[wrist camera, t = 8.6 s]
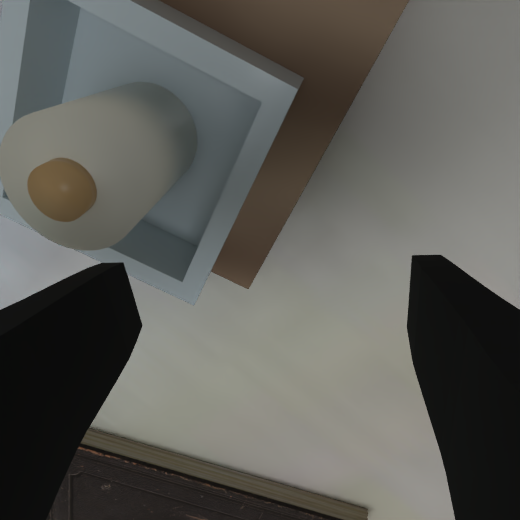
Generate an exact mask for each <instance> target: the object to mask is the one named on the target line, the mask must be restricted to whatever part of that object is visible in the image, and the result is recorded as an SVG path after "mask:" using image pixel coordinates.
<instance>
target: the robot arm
mask: <svg viewBox="0 0 520 520" xmlns="http://www.w3.org/2000/svg"><path fill="white" fill-rule="evenodd" d="M141 328H142V323H141V319H140V316H139V312H138V309H137V306H136V302H135V299H134V296H133V292H132V289H131V286H130V282H129V279H128V275H127V272H126V269H125V265H124V262H117V263H101V264H98V265H95V266H92V267H89V268H87V269H85V270H82V271H80V272H78V273H76V274H74V275H72V276H70V277H67V278H65V279H63V280H61V281H59V282H57V283H55V284H53V285H51V286H49V287H47V288H45V289H43V290H41V291H39V292H37V293H35V294H33V295H31V296H29V297H27V298H25V299H23V300H21V301H19V302H16V303H14V304H12V305H10V306H8V307H6V308H4V309H1V310H0V520H46V519H47V517H48V514H49V512H50V510H51V507H52V505H53V503H54V500H55V498H56V495H57V493H58V491H59V488H60V486H61V484H62V482H63V479H64V477H65V475H66V473H67V471H68V468H69V466H70V464H71V462H72V460H73V458H74V455H75V453H76V451H77V449H78V447H79V445H80V443H81V441H82V439H83V438H84V436H85V434H86V432H87V430H88V428H89V427H90V425H91V423H92V422H93V420H94V418H95V417H96V415H97V413H98V411H99V410H100V408H101V406H102V405H103V403H104V401H105V400H106V398H107V396H108V395H109V393H110V391H111V389H112V388H113V386H114V384H115V383H116V381H117V379H118V377H119V376H120V374H121V372H122V370H123V369H124V367H125V365H126V363H127V362H128V360H129V358H130V356H131V353H132V351H133V349H134V346H135V344H136V341H137V339H138V336H139V333H140V331H141ZM407 330H408V337H409V343H410V349H411V355H412V360H413V365H414V368H415V372H416V375H417V378H418V382H419V385H420V388H421V391H422V395H423V398H424V401H425V404H426V407H427V411H428V414H429V417H430V420H431V423H432V427H433V430H434V433H435V436H436V439H437V443H438V446H439V449H440V452H441V456H442V460H443V464H444V468H445V471H446V476H447V481H448V486H449V491H450V495H451V500H452V505H453V510H454V515H455V520H520V310H519V309H518V308H516V307H515V306H513V305H511V304H510V303H508V302H507V301H505V300H504V299H502V298H501V297H499V296H498V295H496V294H495V293H493V292H492V291H491V290H489V289H488V288H486V287H485V286H483V285H482V284H481V283H479V282H478V281H476V280H475V279H474V278H472V277H471V276H470V275H468V274H467V273H466V272H464V271H463V270H461V269H460V268H459V267H457V266H456V265H455V264H453V263H452V262H450V261H449V260H448V259H446V258H445V257H443V256H441V255H412V263H411V278H410V292H409V306H408V320H407Z"/></svg>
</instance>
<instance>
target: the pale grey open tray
mask: <svg viewBox="0 0 520 520" xmlns="http://www.w3.org/2000/svg"><path fill="white" fill-rule="evenodd" d="M303 80H304V78H303V77H301V76H300V75H298V74H296V73H294V72H292V71H290V70H288V69H286V68H285V67H283V66H281V65H279V64H277V63H275V62H273V61H271V60H270V59H268V58H266V57H264V56H262V55H260V54H258V53H256V52H255V51H253V50H251V49H249V48H247V47H245V46H243V45H242V44H240V43H238V42H236V41H234V40H232V39H230V38H228V37H227V36H225V35H223V34H221V33H219V32H217V31H215V30H213V29H212V28H210V27H208V26H206V25H204V24H202V23H200V22H198V21H197V20H195V19H193V18H191V17H189V16H187V15H185V14H184V13H182V12H180V11H178V10H176V9H174V8H172V7H170V6H169V5H167V4H165V3H163V2H161V1H159V0H3V1H2V10H1V19H0V146H1V143H2V139H3V137H4V136H5V134H6V132H7V131H8V129H9V128H10V127H11V125H13V124H14V123H15V122H16V121H17V120H18V119H20V118H22V117H23V116H25V115H28V114H30V113H33V112H36V111H39V110H43V109H46V108H49V107H53V106H56V105H59V104H63V103H66V102H69V101H72V100H76V99H79V98H82V97H86V96H89V95H92V94H96V93H99V92H102V91H105V90H109V89H112V88H115V87H119V86H122V85H125V84H128V83H133V82H149V83H153V84H156V85H159V86H162V87H164V88H165V89H167V90H169V91H170V92H172V93H173V94H174V95H175V96H177V97H178V98H179V99H180V100H181V101H182V103H183V104H184V105H185V106H186V108H187V109H188V111H189V113H190V114H191V116H192V119H193V121H194V124H195V127H196V132H197V151H196V155H195V158H194V160H193V163H192V164H191V166H190V168H189V169H188V170H187V171H186V172H185V173H184V174H183V176H182V177H181V178H180V179H179V180H178V181H177V182H176V183H175V184H174V185H173V186H172V187H171V188H170V189H169V190H168V192H167V193H166V194H165V195H164V196H163V197H162V198H161V199H160V200H159V201H158V202H157V203H156V204H155V205H154V206H153V207H152V209H151V210H150V211H149V212H148V213H147V214H146V215H145V216H144V217H143V218H142V219H141V220H140V221H139V222H138V223H137V224H136V226H135V227H134V228H133V229H132V230H131V231H130V232H129V233H128V234H127V235H126V236H125V237H124V238H123V239H122V240H121V241H119V242H118V243H116V244H114V245H112V246H110V247H108V248H104V249H100V250H92V251H84V250H76V249H74V250H76V251H78V252H81V253H83V254H85V255H87V256H89V257H91V258H93V259H96V260H98V261H100V262H102V263H117V262H124V265H125V269H126V272H127V274H128V275H130V276H132V277H134V278H136V279H138V280H140V281H143V282H145V283H147V284H149V285H151V286H153V287H155V288H158V289H160V290H162V291H164V292H166V293H168V294H170V295H173V296H175V297H177V298H179V299H181V300H183V301H185V302H188V303H190V304H192V305H194V304H195V302H196V300H197V298H198V296H199V294H200V292H201V290H202V288H203V286H204V284H205V282H206V280H207V278H208V276H209V274H210V272H211V270H212V268H213V266H214V264H215V262H216V260H217V258H218V256H219V254H220V252H221V250H222V247H223V245H224V243H225V241H226V239H227V237H228V235H229V233H230V231H231V229H232V227H233V225H234V223H235V221H236V218H237V216H238V214H239V212H240V210H241V208H242V206H243V204H244V202H245V200H246V198H247V196H248V194H249V192H250V189H251V187H252V185H253V183H254V181H255V179H256V177H257V175H258V173H259V171H260V169H261V167H262V165H263V162H264V160H265V158H266V156H267V154H268V152H269V150H270V148H271V146H272V144H273V142H274V140H275V138H276V136H277V133H278V131H279V129H280V127H281V125H282V123H283V121H284V119H285V117H286V115H287V113H288V111H289V109H290V107H291V104H292V102H293V100H294V98H295V96H296V94H297V92H298V90H299V88H300V86H301V84H302V82H303ZM0 215H2V216H4V217H6V218H8V219H10V220H12V221H14V222H16V223H19V224H21V225H23V226H25V227H27V228H29V229H31V230H34V229H33V228H32V227H31V226H30V225H29V224H27V222H26V221H25V220H24V219H23V218H22V217H21V216H20V215H19V213H18V212H17V211H16V210H15V208H14V207H13V205H12V203H11V202H10V200H9V198H8V196H7V194H6V192H5V190H4V187H3V184H2V181H1V177H0ZM34 231H36V230H34ZM36 232H37V231H36Z"/></svg>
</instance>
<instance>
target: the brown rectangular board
mask: <svg viewBox="0 0 520 520" xmlns="http://www.w3.org/2000/svg"><path fill="white" fill-rule="evenodd" d="M159 1H161V2H163V3H165V4H167V5H169V6H170V7H172V8H174V9H176V10H178V11H180V12H182V13H184V14H185V15H187V16H189V17H191V18H193V19H195V20H197V21H198V22H200V23H202V24H204V25H206V26H208V27H210V28H212V29H213V30H215V31H217V32H219V33H221V34H223V35H225V36H227V37H228V38H230V39H232V40H234V41H236V42H238V43H240V44H242V45H243V46H245V47H247V48H249V49H251V50H253V51H255V52H256V53H258V54H260V55H262V56H264V57H266V58H268V59H270V60H271V61H273V62H275V63H277V64H279V65H281V66H283V67H285V68H286V69H288V70H290V71H292V72H294V73H296V74H298V75H300V76H301V77H303V78H304V80H303V82H302V84H301V86H300V88H299V90H298V92H297V94H296V96H295V98H294V100H293V102H292V104H291V107H290V109H289V111H288V113H287V115H286V117H285V119H284V121H283V123H282V125H281V127H280V129H279V131H278V133H277V136H276V138H275V140H274V142H273V144H272V146H271V148H270V150H269V152H268V154H267V156H266V158H265V160H264V162H263V165H262V167H261V169H260V171H259V173H258V175H257V177H256V179H255V181H254V183H253V185H252V187H251V189H250V192H249V194H248V196H247V198H246V200H245V202H244V204H243V206H242V208H241V210H240V212H239V214H238V216H237V218H236V221H235V223H234V225H233V227H232V229H231V231H230V233H229V235H228V237H227V239H226V241H225V243H224V245H223V247H222V250H221V252H220V254H219V256H218V258H217V260H216V262H215V264H214V266H213V268H212V270H211V272H213V273H215V274H217V275H220V276H222V277H224V278H226V279H228V280H230V281H232V282H234V283H236V284H238V285H241V286H243V287H245V288H247V289H249V287H250V285H251V284H252V282H253V280H254V278H255V276H256V275H257V273H258V271H259V269H260V267H261V266H262V264H263V262H264V260H265V258H266V257H267V255H268V253H269V251H270V249H271V248H272V246H273V244H274V242H275V240H276V239H277V237H278V235H279V233H280V231H281V230H282V228H283V226H284V224H285V222H286V221H287V219H288V217H289V215H290V213H291V212H292V210H293V208H294V206H295V205H296V203H297V201H298V199H299V197H300V196H301V194H302V192H303V190H304V188H305V187H306V185H307V183H308V181H309V179H310V178H311V176H312V174H313V172H314V170H315V169H316V167H317V165H318V163H319V161H320V160H321V158H322V156H323V154H324V152H325V151H326V149H327V147H328V145H329V143H330V142H331V140H332V138H333V136H334V134H335V133H336V131H337V129H338V127H339V125H340V124H341V122H342V120H343V118H344V116H345V115H346V113H347V111H348V109H349V107H350V106H351V104H352V102H353V100H354V98H355V97H356V95H357V93H358V91H359V89H360V88H361V86H362V84H363V82H364V80H365V79H366V77H367V75H368V73H369V71H370V70H371V68H372V66H373V64H374V62H375V61H376V59H377V57H378V55H379V53H380V52H381V50H382V48H383V46H384V44H385V43H386V41H387V39H388V37H389V36H390V34H391V32H392V30H393V28H394V27H395V25H396V23H397V21H398V19H399V18H400V16H401V14H402V12H403V10H404V9H405V7H406V5H407V3H408V1H409V0H159Z"/></svg>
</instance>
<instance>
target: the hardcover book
mask: <svg viewBox="0 0 520 520" xmlns="http://www.w3.org/2000/svg"><path fill="white" fill-rule="evenodd" d="M367 510H368V509H365V508H362V507H358V506H355V505H351V504H348V503H345V502H341V501H338V500H334V499H331V498H327V497H324V496H320V495H317V494H314V493H310V492H307V491H303V490H300V489H296V488H293V487H289V486H286V485H282V484H279V483H276V482H272V481H269V480H265V479H262V478H258V477H255V476H251V475H248V474H245V473H241V472H238V471H234V470H231V469H227V468H224V467H220V466H217V465H213V464H210V463H207V462H203V461H200V460H196V459H193V458H189V457H186V456H182V455H179V454H176V453H172V452H169V451H165V450H162V449H158V448H155V447H151V446H148V445H145V444H141V443H138V442H134V441H131V440H127V439H124V438H120V437H117V436H113V435H110V434H107V433H103V432H100V431H96V430H93V429H89V428H88V430H87V432H86V434H85V436H84V438H83V439H82V441H81V443H80V445H79V447H78V449H77V451H76V453H75V455H74V458H73V460H72V462H71V464H70V466H69V468H68V471H67V473H66V475H65V477H64V479H63V482H62V484H61V486H60V488H59V491H58V493H57V495H56V498H55V500H54V503H53V505H52V507H51V510H50V512H49V514H48V517H47V519H46V520H368V519H367V516H368V512H367Z"/></svg>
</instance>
